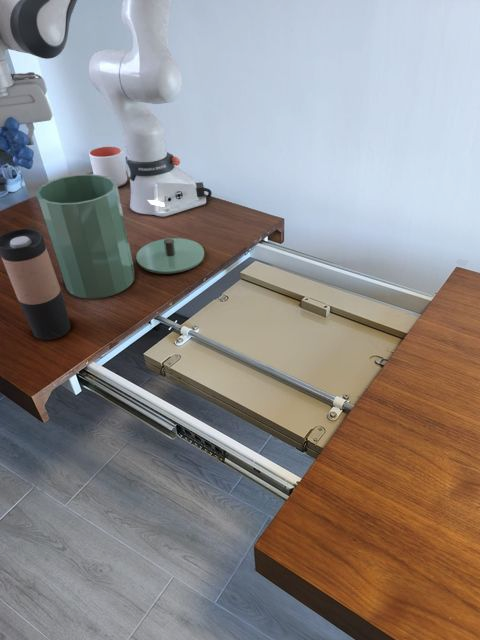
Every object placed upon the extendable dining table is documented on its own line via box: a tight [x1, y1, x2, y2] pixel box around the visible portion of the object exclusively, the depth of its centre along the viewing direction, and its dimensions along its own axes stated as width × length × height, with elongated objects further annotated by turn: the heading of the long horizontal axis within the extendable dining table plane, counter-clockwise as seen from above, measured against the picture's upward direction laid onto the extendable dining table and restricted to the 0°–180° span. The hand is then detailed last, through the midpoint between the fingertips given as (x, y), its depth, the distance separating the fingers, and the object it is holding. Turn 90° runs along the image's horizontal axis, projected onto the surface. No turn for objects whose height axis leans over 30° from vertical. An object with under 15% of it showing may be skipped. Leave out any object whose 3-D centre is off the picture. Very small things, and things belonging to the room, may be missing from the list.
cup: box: [88, 146, 128, 188], centre depth 149 cm, size 10×10×10 cm
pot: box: [35, 173, 136, 300], centre depth 102 cm, size 15×15×22 cm
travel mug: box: [0, 228, 71, 341], centre depth 88 cm, size 8×8×20 cm
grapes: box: [0, 117, 35, 170], centre depth 103 cm, size 12×7×12 cm, turn 48°
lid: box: [135, 237, 205, 275], centre depth 115 cm, size 16×16×5 cm
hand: (12, 147), depth 104 cm, fingers closed on grapes, 6 cm apart
